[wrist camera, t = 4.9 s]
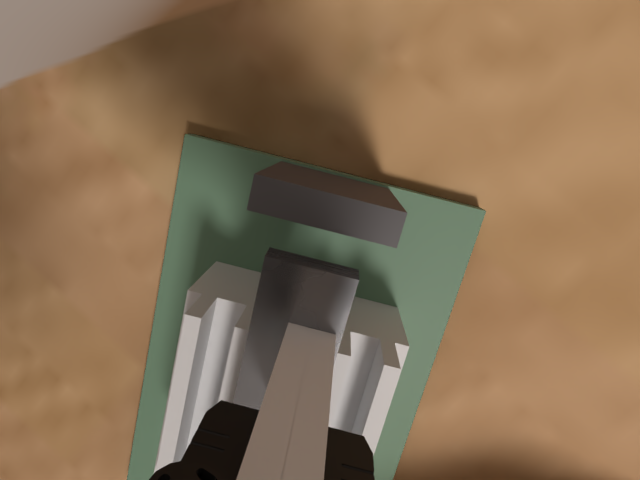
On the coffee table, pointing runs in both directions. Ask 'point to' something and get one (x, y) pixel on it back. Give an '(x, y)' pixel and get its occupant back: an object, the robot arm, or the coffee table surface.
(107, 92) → the coffee table surface
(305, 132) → the coffee table surface
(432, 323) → the heatsink base
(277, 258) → the strap
